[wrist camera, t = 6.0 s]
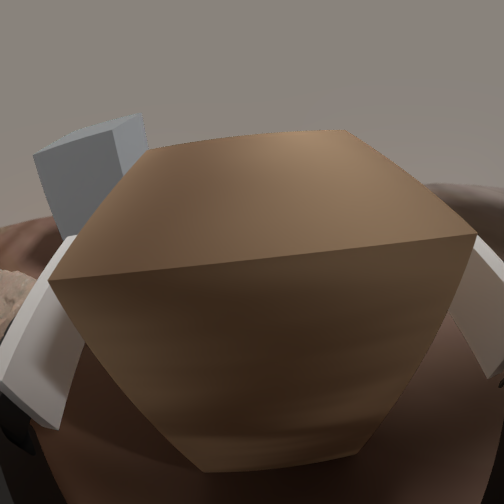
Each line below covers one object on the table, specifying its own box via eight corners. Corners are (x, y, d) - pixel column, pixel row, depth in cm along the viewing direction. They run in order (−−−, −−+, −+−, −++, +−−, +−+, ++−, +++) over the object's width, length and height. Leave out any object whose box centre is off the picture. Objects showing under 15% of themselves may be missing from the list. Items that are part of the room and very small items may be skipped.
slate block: (167, 229, 25) (141, 112, 19) (153, 274, 20) (112, 129, 14) (105, 237, 25) (73, 131, 19) (81, 280, 20) (32, 155, 14)
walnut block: (326, 342, 14) (345, 129, 8) (356, 453, 9) (477, 233, 3) (205, 355, 14) (146, 150, 8) (203, 472, 9) (47, 280, 3)
